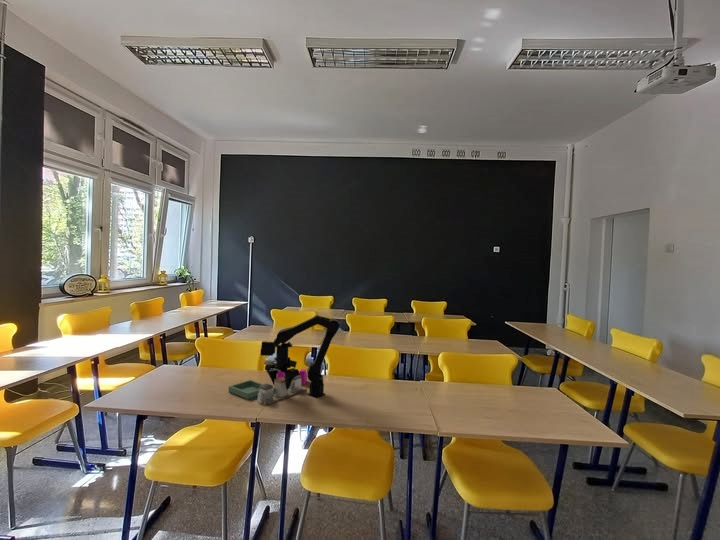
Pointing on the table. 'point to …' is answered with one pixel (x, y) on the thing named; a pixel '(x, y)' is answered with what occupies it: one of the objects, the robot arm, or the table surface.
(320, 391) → the robot arm
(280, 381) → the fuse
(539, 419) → the table surface
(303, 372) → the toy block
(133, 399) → the table surface
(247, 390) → the tray
